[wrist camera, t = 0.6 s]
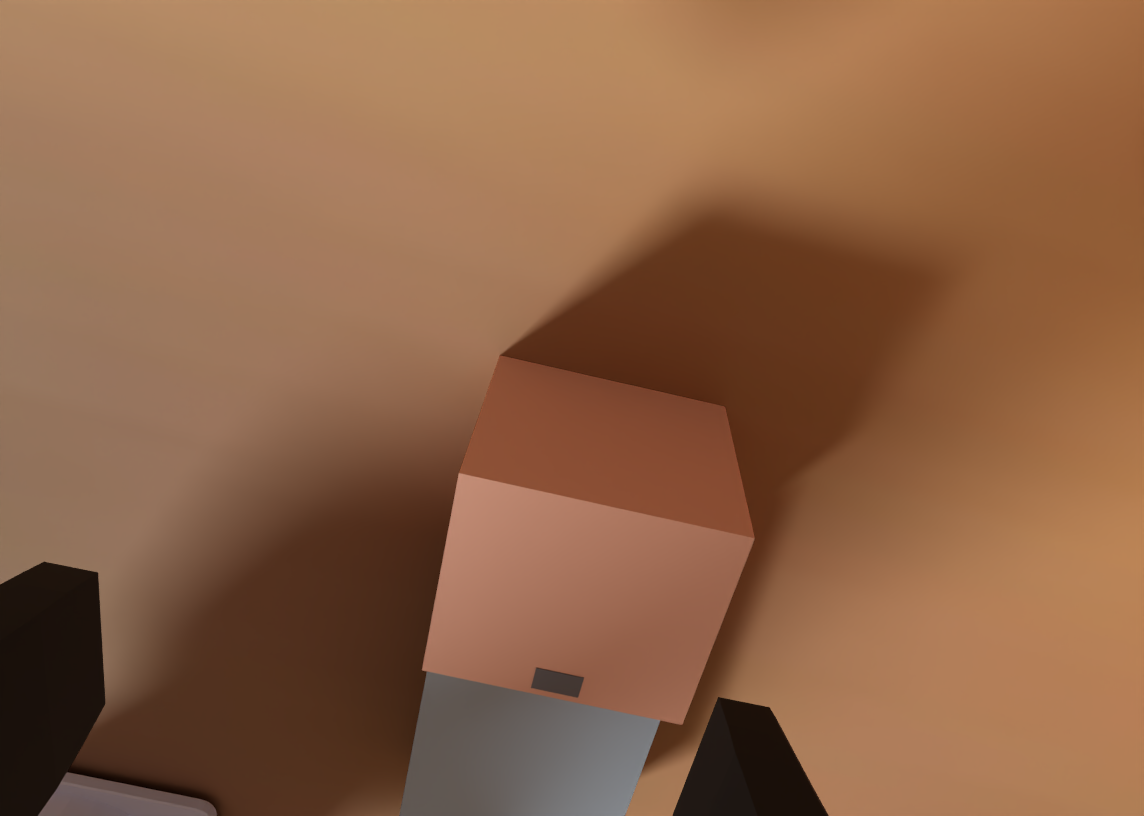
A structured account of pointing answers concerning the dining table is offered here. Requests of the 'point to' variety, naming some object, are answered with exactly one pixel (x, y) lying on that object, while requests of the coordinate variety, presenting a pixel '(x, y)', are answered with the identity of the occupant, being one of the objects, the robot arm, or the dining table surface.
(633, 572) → the stub
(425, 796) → the slotted gray housing
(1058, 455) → the dining table surface
